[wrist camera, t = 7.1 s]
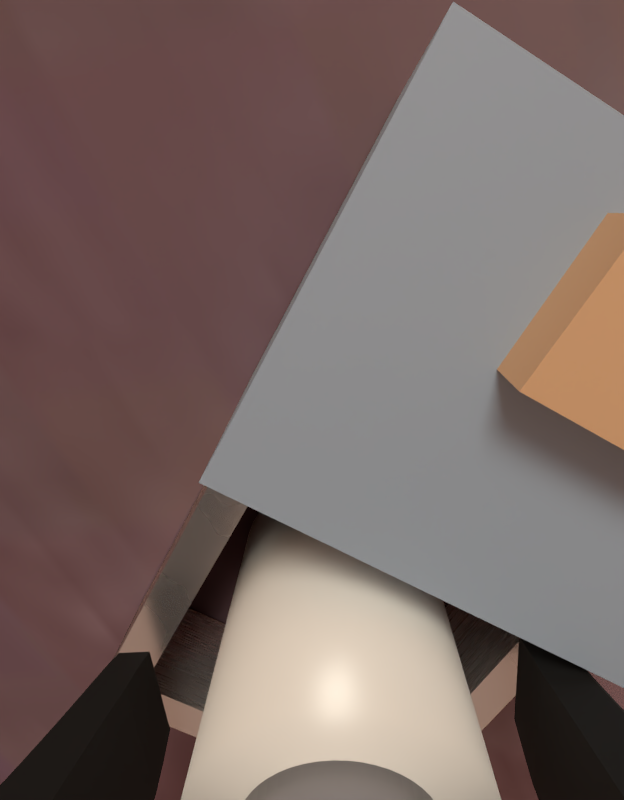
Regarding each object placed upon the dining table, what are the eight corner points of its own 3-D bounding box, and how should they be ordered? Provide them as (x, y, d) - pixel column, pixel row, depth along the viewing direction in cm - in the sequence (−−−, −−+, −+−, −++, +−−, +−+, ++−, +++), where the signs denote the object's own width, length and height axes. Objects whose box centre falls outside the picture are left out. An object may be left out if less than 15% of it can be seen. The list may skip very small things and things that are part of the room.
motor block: (743, 314, 10) (1134, 414, 5) (553, 536, 12) (705, 763, 7) (398, 98, 9) (475, -37, 4) (250, 378, 11) (182, 516, 6)
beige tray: (556, 520, 12) (611, 595, 10) (386, 720, 14) (396, 819, 12) (267, 367, 11) (248, 410, 9) (137, 610, 13) (95, 695, 11)
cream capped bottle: (424, 470, 12) (537, 776, 5) (427, 622, 13) (519, 1006, 7) (234, 482, 12) (124, 788, 6) (258, 629, 13) (192, 1006, 7)
